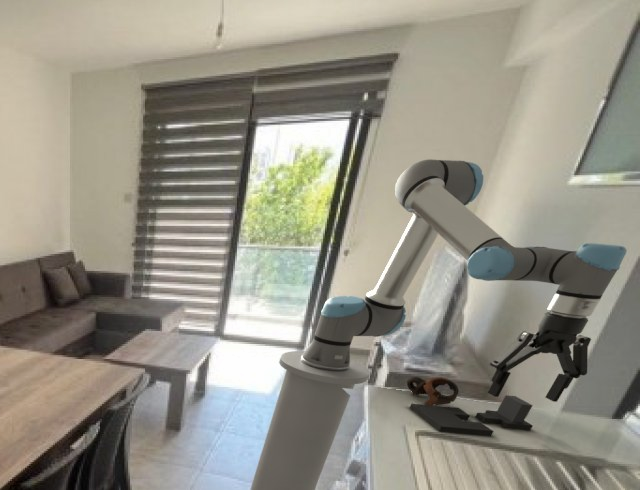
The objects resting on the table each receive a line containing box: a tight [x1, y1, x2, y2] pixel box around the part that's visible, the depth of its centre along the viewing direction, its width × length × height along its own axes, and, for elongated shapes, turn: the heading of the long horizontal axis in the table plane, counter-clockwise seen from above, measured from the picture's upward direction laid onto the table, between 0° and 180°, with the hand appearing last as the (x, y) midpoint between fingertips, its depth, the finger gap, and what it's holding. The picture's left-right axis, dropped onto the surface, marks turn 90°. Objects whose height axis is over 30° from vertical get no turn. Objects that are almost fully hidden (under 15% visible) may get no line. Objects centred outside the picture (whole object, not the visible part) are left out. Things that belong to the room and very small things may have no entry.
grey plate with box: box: [474, 394, 534, 432], centre depth 125 cm, size 8×10×6 cm
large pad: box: [409, 403, 494, 437], centre depth 125 cm, size 14×12×2 cm
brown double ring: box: [406, 376, 459, 406], centre depth 136 cm, size 12×10×8 cm
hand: (521, 397), depth 123 cm, fingers open, 13 cm apart
